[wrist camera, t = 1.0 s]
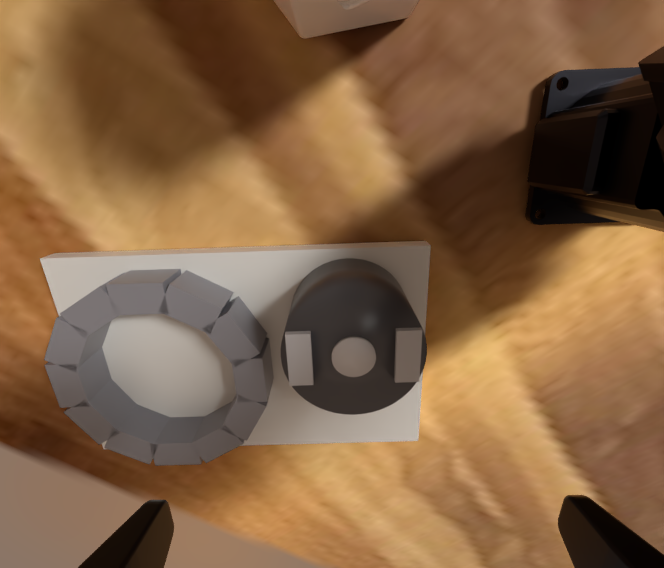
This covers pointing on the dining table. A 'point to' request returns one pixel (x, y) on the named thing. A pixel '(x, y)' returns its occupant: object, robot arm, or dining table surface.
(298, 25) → the jar
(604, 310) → the dining table surface
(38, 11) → the dining table surface
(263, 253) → the plate
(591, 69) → the robot arm
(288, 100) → the dining table surface
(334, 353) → the cap
